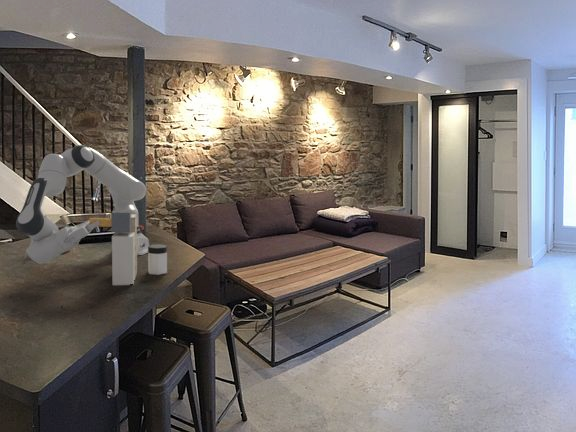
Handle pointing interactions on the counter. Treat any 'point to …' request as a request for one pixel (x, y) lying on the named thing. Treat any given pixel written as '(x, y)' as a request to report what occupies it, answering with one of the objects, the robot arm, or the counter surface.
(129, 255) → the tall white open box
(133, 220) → the tall pedestal
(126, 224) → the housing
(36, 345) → the counter surface
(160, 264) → the jar
